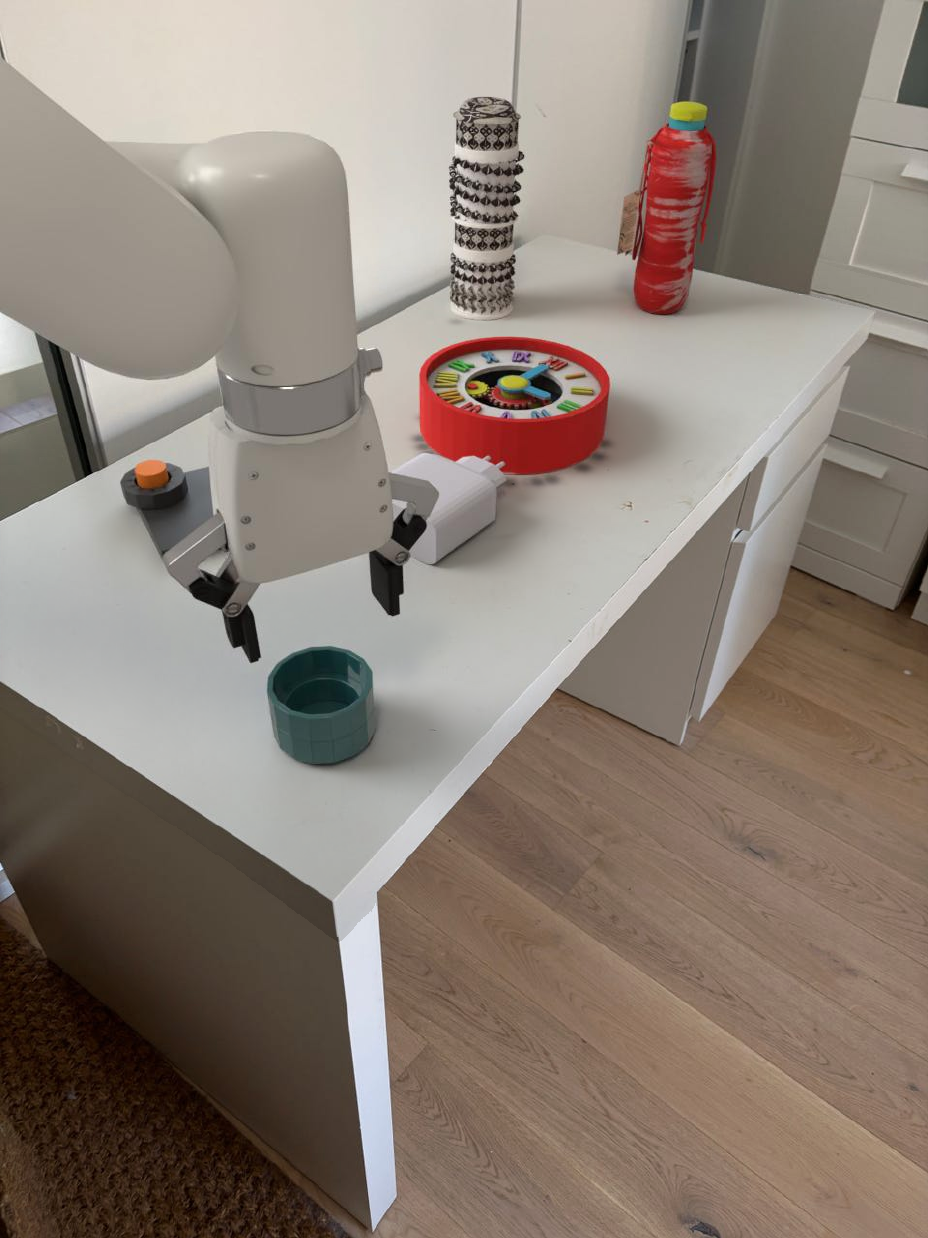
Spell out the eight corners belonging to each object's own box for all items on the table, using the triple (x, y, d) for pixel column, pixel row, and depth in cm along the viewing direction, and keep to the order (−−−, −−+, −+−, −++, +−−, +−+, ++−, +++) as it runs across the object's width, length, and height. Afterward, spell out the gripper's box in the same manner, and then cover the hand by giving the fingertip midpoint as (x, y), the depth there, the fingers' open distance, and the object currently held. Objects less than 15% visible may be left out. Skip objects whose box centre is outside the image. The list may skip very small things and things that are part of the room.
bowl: (296, 782, 66) (289, 732, 63) (260, 715, 71) (252, 665, 68) (391, 747, 69) (389, 696, 65) (351, 684, 73) (347, 634, 70)
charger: (533, 497, 94) (435, 569, 85) (458, 466, 98) (358, 530, 89) (536, 455, 91) (435, 524, 82) (459, 424, 95) (355, 486, 86)
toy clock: (379, 379, 100) (497, 321, 112) (381, 429, 104) (495, 368, 116) (535, 443, 90) (646, 372, 102) (531, 496, 94) (639, 422, 106)
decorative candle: (524, 318, 127) (537, 108, 111) (455, 323, 126) (458, 111, 110) (506, 292, 134) (515, 91, 118) (441, 297, 132) (441, 93, 116)
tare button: (142, 492, 88) (138, 478, 87) (134, 478, 90) (131, 463, 89) (172, 485, 90) (169, 470, 89) (164, 471, 91) (161, 456, 90)
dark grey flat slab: (154, 567, 84) (148, 538, 82) (121, 498, 92) (114, 470, 91) (314, 524, 90) (311, 496, 88) (269, 462, 98) (266, 436, 96)
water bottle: (596, 306, 131) (618, 101, 115) (617, 287, 137) (641, 89, 121) (681, 324, 127) (716, 114, 111) (699, 304, 132) (736, 101, 116)
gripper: (405, 331, 58) (412, 559, 69) (114, 392, 52) (173, 633, 63) (464, 382, 53) (461, 619, 64) (149, 457, 47) (207, 706, 58)
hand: (319, 626), depth 63 cm, fingers open, 9 cm apart
